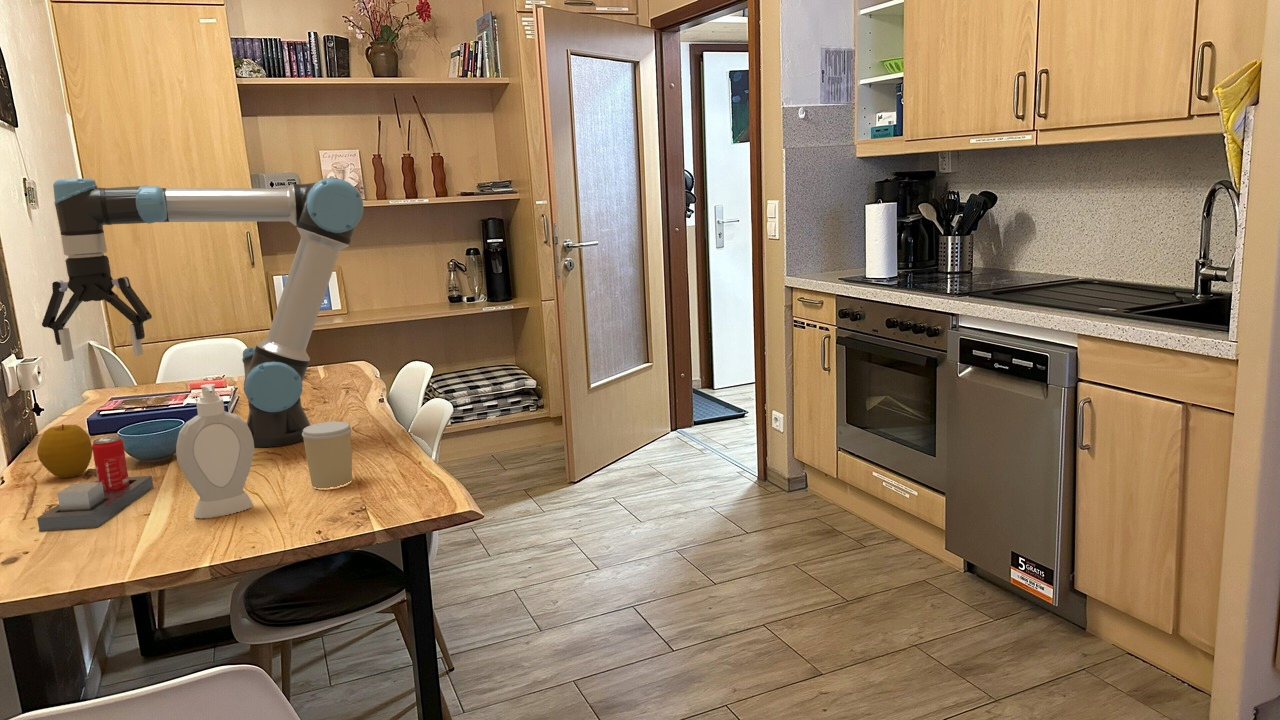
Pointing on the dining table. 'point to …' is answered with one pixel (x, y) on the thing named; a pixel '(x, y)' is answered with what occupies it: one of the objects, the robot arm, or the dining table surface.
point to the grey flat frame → (91, 504)
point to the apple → (65, 450)
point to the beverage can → (110, 463)
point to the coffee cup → (328, 453)
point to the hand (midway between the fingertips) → (104, 357)
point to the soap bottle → (216, 457)
